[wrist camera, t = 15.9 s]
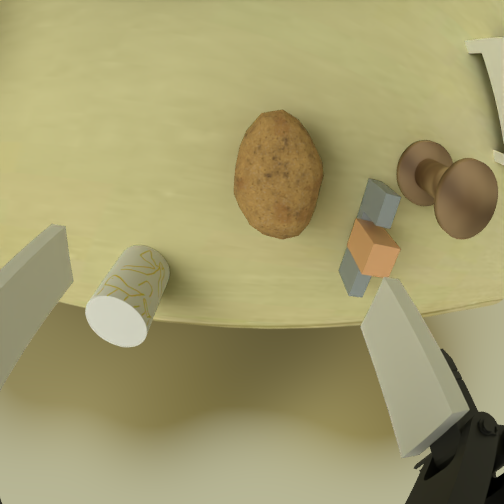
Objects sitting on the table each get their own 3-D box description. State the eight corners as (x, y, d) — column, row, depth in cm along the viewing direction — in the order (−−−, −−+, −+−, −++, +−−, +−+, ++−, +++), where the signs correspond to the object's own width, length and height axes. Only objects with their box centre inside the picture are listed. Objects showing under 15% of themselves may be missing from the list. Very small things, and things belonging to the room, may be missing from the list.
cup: (180, 269, 43) (159, 326, 33) (151, 300, 46) (127, 355, 36) (136, 234, 40) (101, 283, 30) (110, 268, 43) (76, 319, 33)
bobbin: (406, 131, 33) (454, 148, 23) (456, 152, 33) (506, 175, 24) (388, 195, 37) (426, 230, 27) (438, 209, 38) (480, 245, 28)
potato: (315, 108, 32) (331, 111, 25) (314, 217, 39) (327, 246, 32) (231, 110, 32) (224, 113, 26) (239, 220, 39) (235, 250, 32)
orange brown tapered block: (356, 218, 37) (373, 243, 31) (380, 223, 37) (400, 249, 31) (346, 245, 39) (361, 274, 33) (370, 249, 39) (387, 278, 33)
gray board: (368, 178, 36) (386, 193, 31) (382, 181, 36) (401, 197, 31) (338, 270, 43) (348, 295, 38) (351, 272, 43) (362, 297, 38)
